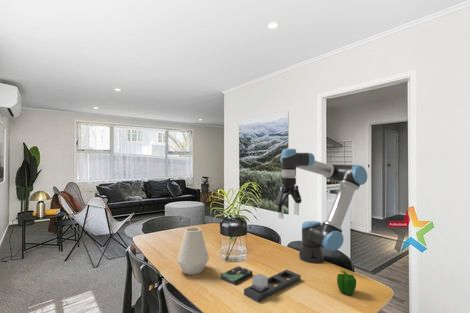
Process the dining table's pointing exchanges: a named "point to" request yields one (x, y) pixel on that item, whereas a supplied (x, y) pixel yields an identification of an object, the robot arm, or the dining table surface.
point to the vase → (192, 252)
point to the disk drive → (236, 275)
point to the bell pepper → (346, 283)
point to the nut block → (259, 283)
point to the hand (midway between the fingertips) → (288, 216)
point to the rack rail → (272, 289)
